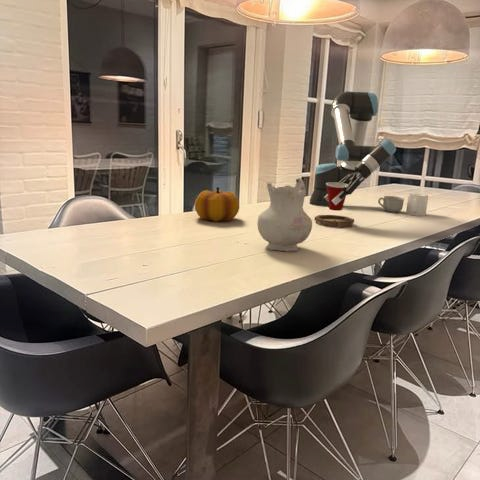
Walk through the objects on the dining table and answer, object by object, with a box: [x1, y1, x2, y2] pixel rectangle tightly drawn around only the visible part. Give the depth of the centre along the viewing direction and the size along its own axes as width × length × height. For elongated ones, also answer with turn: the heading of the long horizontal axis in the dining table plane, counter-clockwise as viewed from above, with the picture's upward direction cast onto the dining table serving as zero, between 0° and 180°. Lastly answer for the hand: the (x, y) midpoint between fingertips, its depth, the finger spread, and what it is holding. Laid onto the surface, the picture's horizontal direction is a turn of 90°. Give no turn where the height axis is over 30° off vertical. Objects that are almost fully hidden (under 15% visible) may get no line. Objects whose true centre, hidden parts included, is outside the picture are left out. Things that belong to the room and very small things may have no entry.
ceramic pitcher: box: [256, 177, 313, 253], centre depth 172 cm, size 22×20×25 cm
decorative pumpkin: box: [194, 186, 240, 223], centre depth 218 cm, size 20×22×15 cm
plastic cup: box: [326, 182, 348, 212], centre depth 219 cm, size 11×11×12 cm
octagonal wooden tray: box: [314, 214, 355, 229], centre depth 222 cm, size 17×17×4 cm
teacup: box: [377, 195, 405, 214], centre depth 264 cm, size 14×11×8 cm
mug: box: [405, 192, 429, 217], centre depth 258 cm, size 14×10×11 cm
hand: (329, 201), depth 219 cm, fingers closed on plastic cup, 9 cm apart
